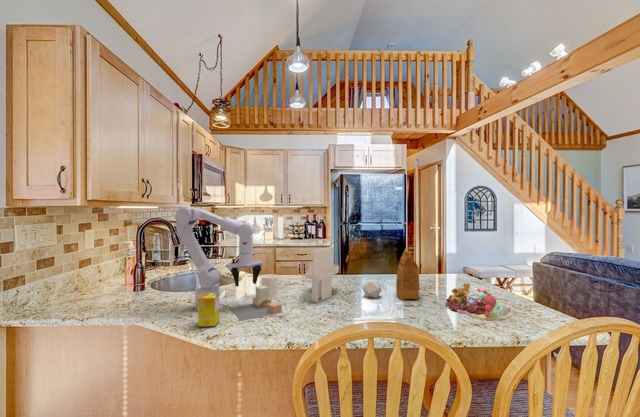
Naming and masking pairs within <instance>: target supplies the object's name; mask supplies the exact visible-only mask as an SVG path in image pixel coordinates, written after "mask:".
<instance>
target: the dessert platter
mask: <svg viewBox="0 0 640 417" xmlns="http://www.w3.org/2000/svg"><path fill="white" fill-rule="evenodd" d="M462 285H463V287H460V288H459V287H454V288H452V290H451V293H452V294H450V295H449V297H448V298H446V300H445V302H444V303H445V307H450V308H449V310H451V311H455V312H458V313H460V314H466V315H467V316H469V317H471V318H475V319H479V320H484V321H494V322H495V321H501V320H506V319H509V318H511V317H512V316H513V314H512V312H511V307H510V306H509V307H507V306H506V305H504V304H503V302H501V301H497V299H496V298H495V297H494V295H493V294H492V293H491V292H490V289H488V288H486V287H485V286H482V287H474V288H473V290H470V287H471V286H470V285H471V283H469V282H464V283H463V284H462ZM469 290H470V291H469ZM506 307H507V308H506Z"/></svg>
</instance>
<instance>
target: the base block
mask: <svg viewBox="0 0 640 417" xmlns="http://www.w3.org/2000/svg"><path fill="white" fill-rule="evenodd" d="M270 303H272V299H270V298H268V299H267V300H262V301H259V300H257V299H256V297H252V304H253V306H255V307H256V308H257V309H261V308H266V307H267V304H270Z"/></svg>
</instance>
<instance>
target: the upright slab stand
mask: <svg viewBox="0 0 640 417" xmlns="http://www.w3.org/2000/svg"><path fill="white" fill-rule="evenodd" d="M334 245H335V244H332V245H331V246H329V247H325V248H320V249H316V250H312V264H311V265H309V267H308V269H307V271H306V272H305V275H304V276H305V278H306V279H310V280H311V302H314V303H317V304H318V303H319V299H320V301H324V300H326V299H328V298H330V297H331V296H333V295H332V290H333V289H332V285H333V284H332V281H333V280H332V278H333V277H332V276H333V275H336V274H338V273H339V272H340V266H339V265H338V264H334V261H335V260H334V259H335V258H334V257H335V255H334V253H335V252H334Z"/></svg>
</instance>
